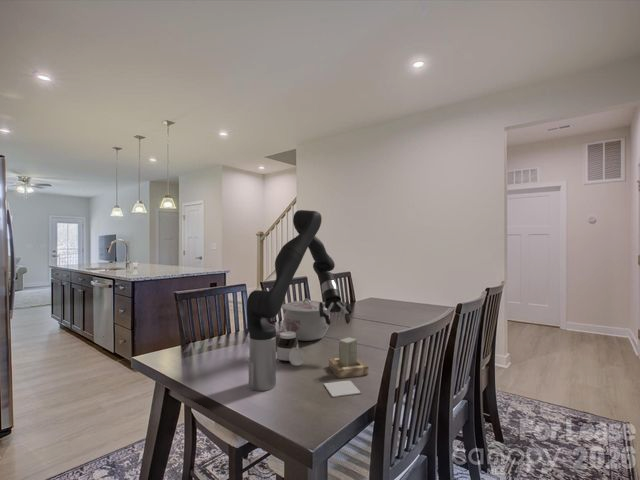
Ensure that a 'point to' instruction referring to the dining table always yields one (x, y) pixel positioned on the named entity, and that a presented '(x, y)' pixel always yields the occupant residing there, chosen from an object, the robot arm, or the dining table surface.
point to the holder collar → (348, 368)
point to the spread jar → (289, 349)
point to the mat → (341, 388)
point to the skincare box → (348, 352)
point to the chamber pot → (305, 319)
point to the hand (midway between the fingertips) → (338, 323)
